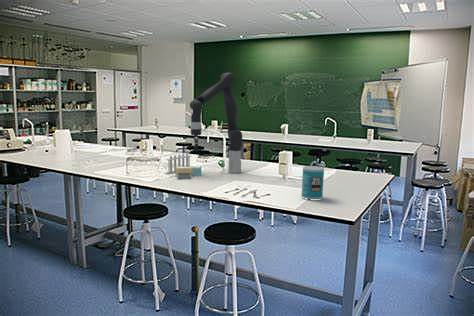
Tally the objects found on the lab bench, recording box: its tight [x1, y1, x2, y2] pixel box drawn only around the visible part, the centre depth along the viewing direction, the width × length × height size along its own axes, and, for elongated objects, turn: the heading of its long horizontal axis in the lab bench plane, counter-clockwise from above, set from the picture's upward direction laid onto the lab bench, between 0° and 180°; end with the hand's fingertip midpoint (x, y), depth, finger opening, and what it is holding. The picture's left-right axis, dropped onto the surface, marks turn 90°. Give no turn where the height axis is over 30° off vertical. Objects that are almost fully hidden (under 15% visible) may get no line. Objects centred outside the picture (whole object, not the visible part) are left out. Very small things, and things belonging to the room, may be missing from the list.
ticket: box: [175, 166, 194, 177], centre depth 270 cm, size 12×5×6 cm, turn 99°
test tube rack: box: [165, 152, 192, 175], centre depth 283 cm, size 25×4×13 cm, turn 145°
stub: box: [192, 166, 202, 177], centre depth 271 cm, size 6×5×6 cm
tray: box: [177, 173, 192, 180], centre depth 263 cm, size 9×9×2 cm
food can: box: [301, 165, 325, 200], centre depth 216 cm, size 12×12×18 cm
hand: (196, 150), depth 269 cm, fingers open, 8 cm apart
